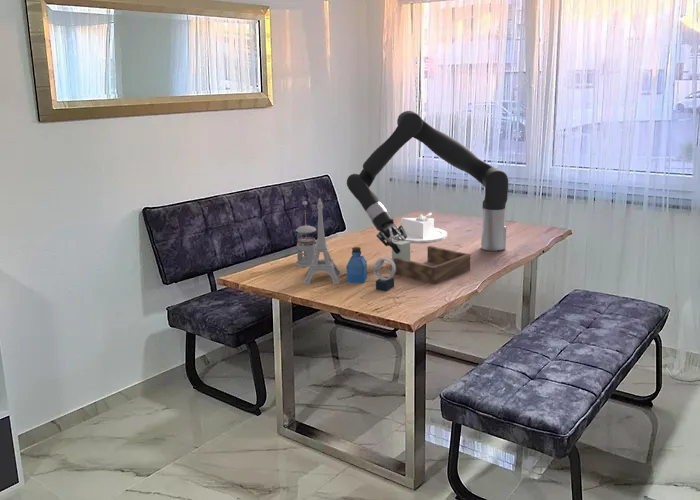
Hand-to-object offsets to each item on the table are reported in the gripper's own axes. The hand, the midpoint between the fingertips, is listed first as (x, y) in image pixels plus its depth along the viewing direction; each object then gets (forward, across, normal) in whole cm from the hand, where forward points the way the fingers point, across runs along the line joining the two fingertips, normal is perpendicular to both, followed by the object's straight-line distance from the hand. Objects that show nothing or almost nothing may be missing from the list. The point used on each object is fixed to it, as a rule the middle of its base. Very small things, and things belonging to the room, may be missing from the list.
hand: (403, 250), depth 261 cm
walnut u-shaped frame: (+14, 0, -6) cm, 15 cm away
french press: (-18, -22, +26) cm, 39 cm away
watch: (+13, -25, -5) cm, 29 cm away
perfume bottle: (+3, -25, +5) cm, 26 cm away
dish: (-12, +39, +21) cm, 46 cm away
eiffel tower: (-5, -32, +13) cm, 34 cm away
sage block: (+3, 0, +4) cm, 5 cm away
